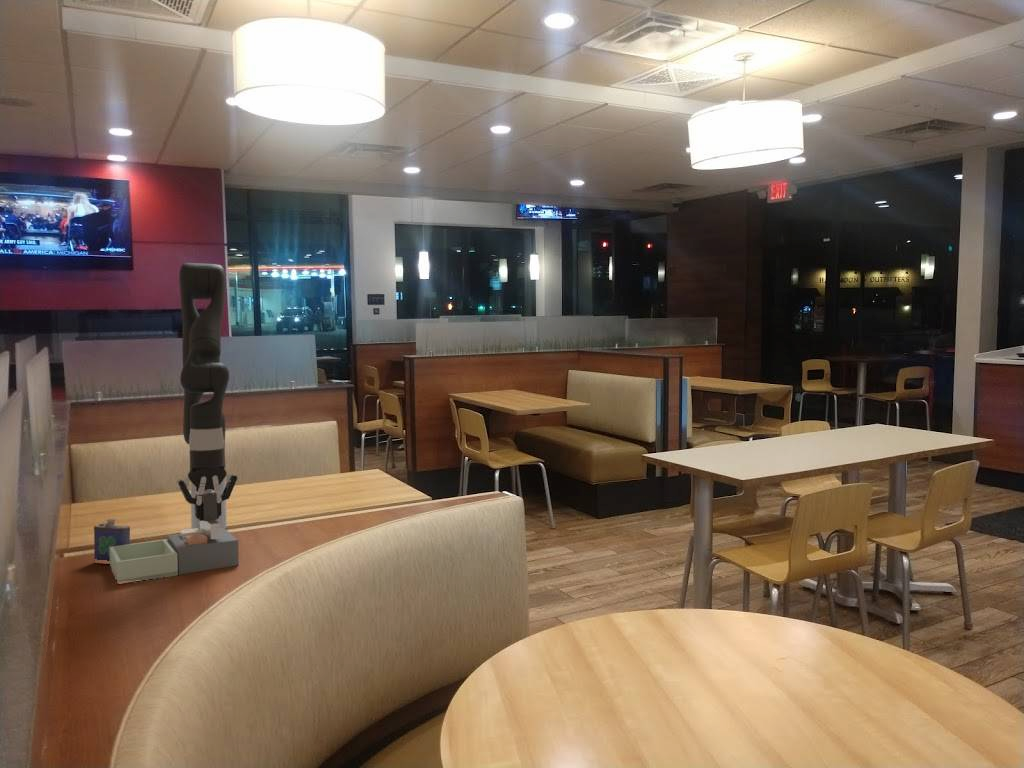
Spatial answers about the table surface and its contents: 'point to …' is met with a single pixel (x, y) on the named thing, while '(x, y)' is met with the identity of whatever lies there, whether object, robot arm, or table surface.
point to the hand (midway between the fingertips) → (208, 518)
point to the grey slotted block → (205, 553)
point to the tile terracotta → (196, 539)
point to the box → (143, 561)
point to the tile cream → (189, 532)
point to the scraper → (210, 516)
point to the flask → (109, 538)
